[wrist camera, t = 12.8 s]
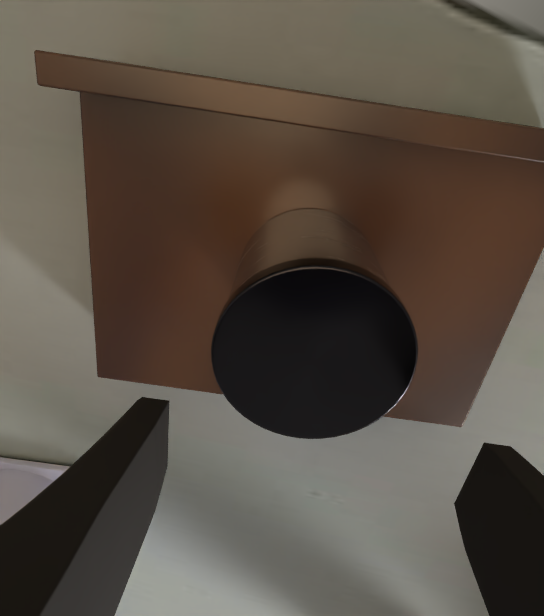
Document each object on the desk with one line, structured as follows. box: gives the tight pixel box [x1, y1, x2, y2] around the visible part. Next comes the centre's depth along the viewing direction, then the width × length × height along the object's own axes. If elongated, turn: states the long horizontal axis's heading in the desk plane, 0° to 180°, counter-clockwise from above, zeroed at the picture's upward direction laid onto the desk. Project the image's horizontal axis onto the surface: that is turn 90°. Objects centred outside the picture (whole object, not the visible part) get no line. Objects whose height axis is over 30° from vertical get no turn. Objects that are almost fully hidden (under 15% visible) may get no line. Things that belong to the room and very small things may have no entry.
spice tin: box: [211, 209, 418, 439], centre depth 13 cm, size 5×5×6 cm
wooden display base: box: [34, 50, 544, 427], centre depth 16 cm, size 16×12×5 cm
